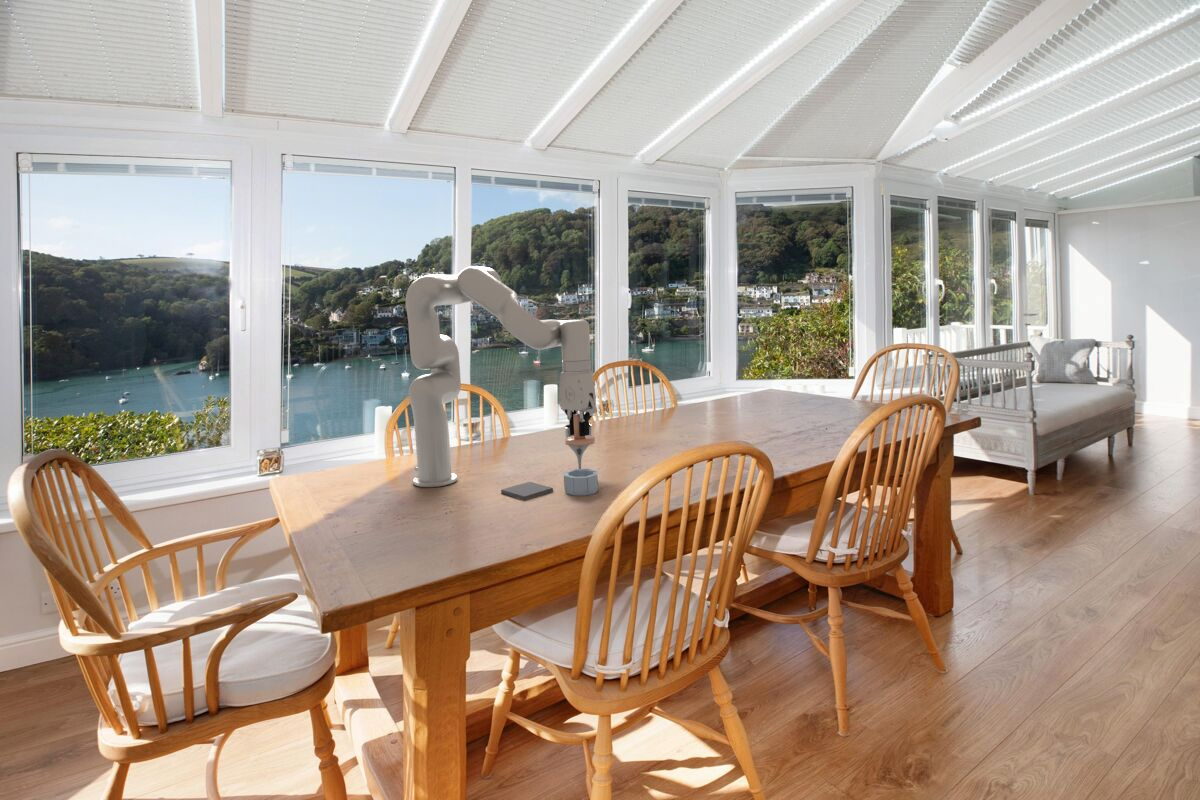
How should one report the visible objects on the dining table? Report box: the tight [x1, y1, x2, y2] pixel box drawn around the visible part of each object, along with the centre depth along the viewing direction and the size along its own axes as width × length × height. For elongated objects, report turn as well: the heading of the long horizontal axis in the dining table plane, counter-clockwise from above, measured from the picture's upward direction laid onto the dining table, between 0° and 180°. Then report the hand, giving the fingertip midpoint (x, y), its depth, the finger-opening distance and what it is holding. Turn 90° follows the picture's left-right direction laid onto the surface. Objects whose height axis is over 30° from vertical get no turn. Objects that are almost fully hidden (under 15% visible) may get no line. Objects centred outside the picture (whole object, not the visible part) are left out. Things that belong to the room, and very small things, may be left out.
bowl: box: [563, 468, 599, 497], centre depth 185 cm, size 9×9×5 cm
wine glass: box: [564, 423, 593, 469], centre depth 200 cm, size 8×8×15 cm
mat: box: [500, 481, 554, 501], centre depth 186 cm, size 10×10×1 cm
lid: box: [564, 413, 596, 447], centre depth 183 cm, size 8×8×8 cm
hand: (579, 434), depth 183 cm, fingers closed on lid, 3 cm apart
